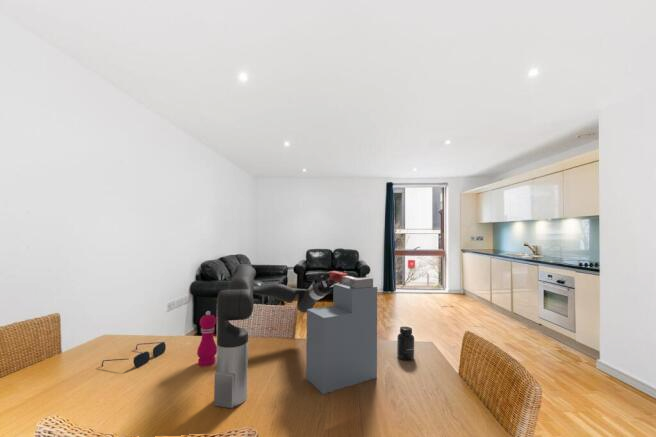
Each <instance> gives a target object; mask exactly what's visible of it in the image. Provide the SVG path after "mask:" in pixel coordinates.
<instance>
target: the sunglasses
mask: <svg viewBox="0 0 656 437" xmlns="http://www.w3.org/2000/svg"><path fill="white" fill-rule="evenodd" d="M151 344H153V345H154V344H155V342H144V343H137V344H136V346H135V350H138V347H139V346H140V345H151ZM156 344H157V345H155V346H154V347H153V349H152V351H147V350H146V351H143V352H140V353H138V354H137V355H136V356H134V357H133V365H134V367H135V368H137V369H139V368H141V367H142V366H143V367H144V366H145V365H146V364H148V362H149V361H150V359H151V356H152V357H153V358H158V357H159V356H161V355H163V354H164V353H165V351H166V347H167V346H166V342H165V341H161V342H160V341H159V342H156ZM126 360H128V358H116V359H104V360H102V361H101V367H102V368H103V367H104V362H110V361H111V362H113V361H126Z"/></svg>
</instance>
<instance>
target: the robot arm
mask: <svg viewBox="0 0 656 437" xmlns="http://www.w3.org/2000/svg"><path fill="white" fill-rule="evenodd" d="M342 273H346V274H348V272H347V270H346V271H345V270H344V271H342ZM256 275H257V272H256V269H255V268H254V267H253V266H251V265H249V264H248V263H247V264H246V263H239V264H238V265H237V266H236V267H235V269H234V271H233V274H232V276H231V278H230V280H229V283H228V286H227V289H222V290H220V291H219V292H218V294H217V297H216V326H217V329H216V330H217V331H216V346H217V353H216V362H215V363H216V364H215V366H216V369H215V371H216V372H214V385H213V386H214V389H213V390H214V392H213V395H214V396H213V406H217V407H221V408H226V409H228V408H229V409H233V408H234V407H237V406H239V405H241V404H243V403H244V402H245V401H247V398H248V368H249V366H248V365H249V364H248V361H249V360H248V358H249V356H248V355H249V354H248V353H249V333H248V331H247V330H246V329H244V328H243V327H242V328H241V327H238V326H235V325H234V324H232V323H231V321H243V320H244V321H245V320H247V319H249V318H250V317H251V316H252V314H253V311H254V304H255V303H254V295H257V296H263V297H269V298H273V299H276V300H279V301H282V302H284V303H287V304H292V303H293V302H294V300H295V299H296V297H298V298H297V303H296V309H297V311H299V312H301V313H307V309H313V308H314V307H315V305H316V304H317V302H318V301H319V300H320V299H323V298H324V297H325V296H327V295H328V294H329V293H331V292H332V289H333V288H334V284H339V283H340V282H336V281H333V280H329V278H330V274H329V271H328V272H326V273H324V274H323V275H320V276H316V277H315V278H314V279H313V280H312V281H311V285H310V286H309V287H308V288H306V289H305V288H294V287H290V286H287V285H285V284H282V283H273V284H267V285H261V286H258V285H255V283H254V280H255V277H256Z"/></svg>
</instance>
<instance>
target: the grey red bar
mask: <svg viewBox="0 0 656 437" xmlns="http://www.w3.org/2000/svg"><path fill="white" fill-rule="evenodd" d="M328 272H329V274H330V278H329V280H333V281H336V282H340V283H344V284H348V285H350V288H353V289H359V288H368V287H373V286H374V278H372V277H367V276H366V277H354V276H351V275H349V274H348V273H347V274H346V273H343V271H342V272H341V271H338V270H332V271H331V270H330V271H328Z"/></svg>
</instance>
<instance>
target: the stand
mask: <svg viewBox="0 0 656 437" xmlns="http://www.w3.org/2000/svg"><path fill="white" fill-rule="evenodd" d="M332 289H333V292H332V293H333V297H332V299H333V300H332V301H333V303H332V304H333V305H328V306H322V307H315V308H314V307H313V308H312V309H307V312H306V345H305V346H306V347H305V348H306V349H305V350H306V353H305V356H306V357H305V360H306V362H305V363H306V364H305V372H306V373H305V379H306V380H307V381H308V382H310V384H312V386H314V387H315V389H317V390H318V391H319V392H320V393H321V394H322V395H325V394H329V393H332V392H335V390H336V391H338V390H337V389H339V390H341V388H342V389H344V387H345V388H348V387H351V386H355V385H357V384H358V385H359V384H361V383H364V381H365V382H367V381H371V380H373V379H377V378H378V286H376V285H373V287H368V288H359V289H353V288H350V285H348V284H344V283H339V284H334V286H333V287H332ZM328 392H329V393H328Z"/></svg>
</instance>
